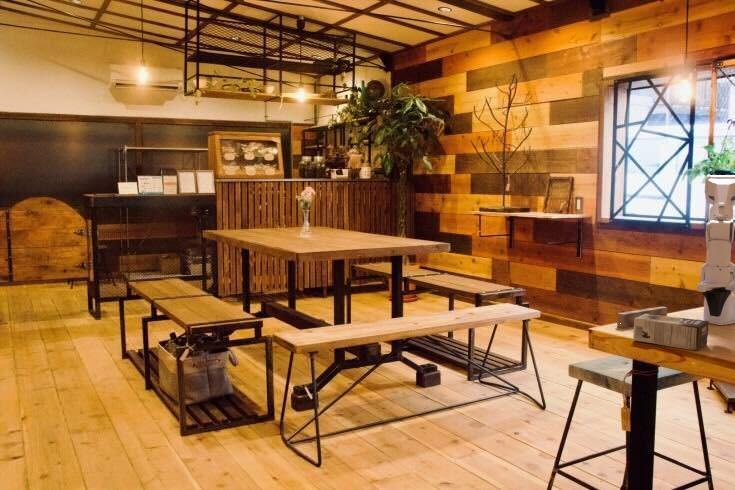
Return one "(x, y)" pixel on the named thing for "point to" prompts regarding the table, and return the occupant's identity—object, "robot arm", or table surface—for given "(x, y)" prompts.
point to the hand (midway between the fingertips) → (715, 315)
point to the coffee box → (671, 331)
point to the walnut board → (628, 317)
